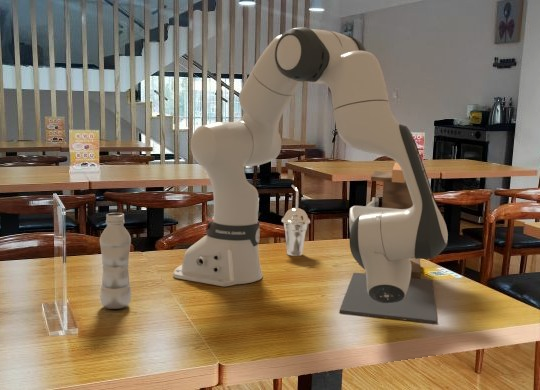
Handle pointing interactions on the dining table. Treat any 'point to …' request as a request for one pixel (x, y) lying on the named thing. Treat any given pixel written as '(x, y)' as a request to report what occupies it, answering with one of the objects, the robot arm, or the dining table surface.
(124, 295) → the plastic bottle
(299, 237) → the cup with straw
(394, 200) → the walnut stand
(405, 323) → the dining table surface
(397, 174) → the orange square bar
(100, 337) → the dining table surface
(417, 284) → the rubber mat
